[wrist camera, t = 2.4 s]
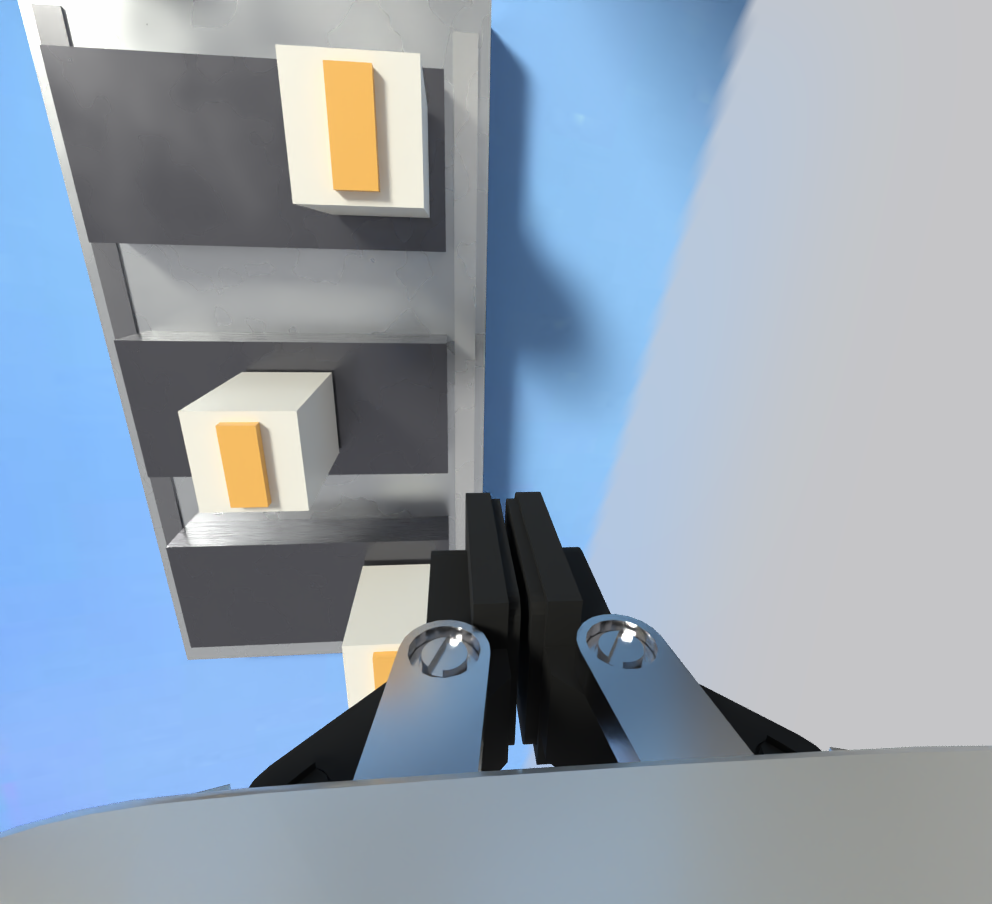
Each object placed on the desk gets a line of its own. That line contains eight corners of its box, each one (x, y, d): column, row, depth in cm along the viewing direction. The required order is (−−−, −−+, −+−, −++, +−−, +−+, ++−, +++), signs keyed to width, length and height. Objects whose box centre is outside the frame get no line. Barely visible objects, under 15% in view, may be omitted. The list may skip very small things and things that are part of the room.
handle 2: (362, 566, 21) (340, 652, 16) (436, 563, 21) (434, 648, 17) (367, 625, 22) (347, 721, 17) (438, 622, 22) (435, 716, 18)
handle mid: (241, 371, 17) (172, 414, 13) (331, 372, 18) (293, 414, 13) (255, 453, 19) (194, 518, 14) (339, 452, 19) (306, 515, 14)
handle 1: (323, 100, 15) (270, 39, 10) (427, 106, 15) (419, 48, 11) (332, 214, 16) (289, 202, 11) (429, 217, 16) (423, 207, 12)
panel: (56, -8, 17) (-56, -81, 13) (486, 21, 18) (497, -37, 14) (206, 630, 26) (166, 693, 23) (477, 619, 28) (482, 677, 24)
